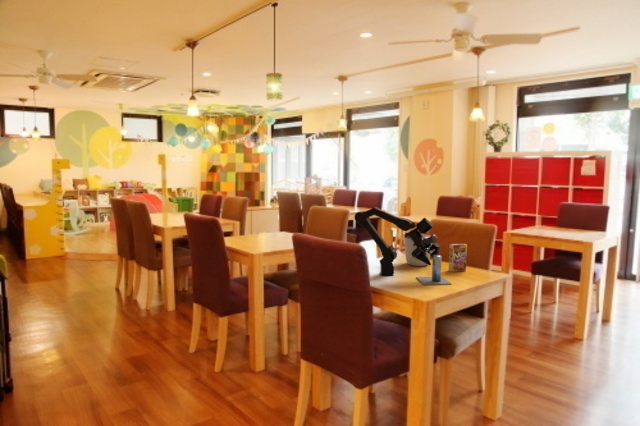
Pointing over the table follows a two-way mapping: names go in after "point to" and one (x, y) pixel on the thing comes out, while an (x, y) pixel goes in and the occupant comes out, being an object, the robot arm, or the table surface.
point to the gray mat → (429, 281)
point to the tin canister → (436, 268)
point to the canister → (410, 248)
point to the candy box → (457, 257)
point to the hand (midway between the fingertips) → (435, 263)
